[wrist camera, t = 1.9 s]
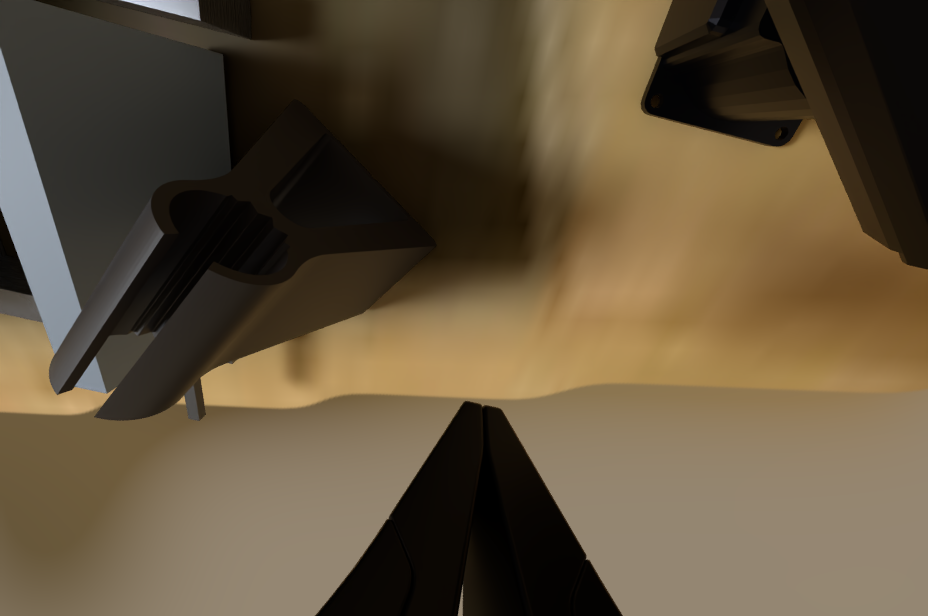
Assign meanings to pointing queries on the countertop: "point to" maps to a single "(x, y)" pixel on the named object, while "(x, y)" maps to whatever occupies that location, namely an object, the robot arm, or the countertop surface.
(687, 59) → the robot arm
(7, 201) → the paddle
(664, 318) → the countertop surface
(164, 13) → the gauge frame
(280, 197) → the phone stand
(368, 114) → the countertop surface
